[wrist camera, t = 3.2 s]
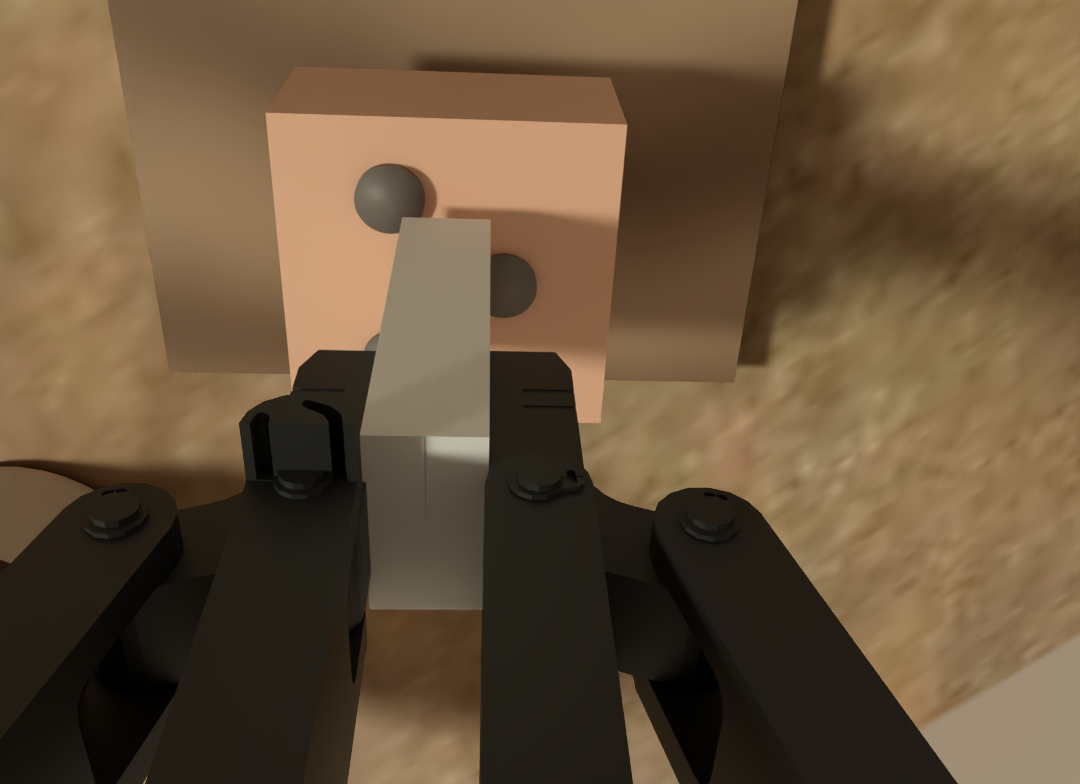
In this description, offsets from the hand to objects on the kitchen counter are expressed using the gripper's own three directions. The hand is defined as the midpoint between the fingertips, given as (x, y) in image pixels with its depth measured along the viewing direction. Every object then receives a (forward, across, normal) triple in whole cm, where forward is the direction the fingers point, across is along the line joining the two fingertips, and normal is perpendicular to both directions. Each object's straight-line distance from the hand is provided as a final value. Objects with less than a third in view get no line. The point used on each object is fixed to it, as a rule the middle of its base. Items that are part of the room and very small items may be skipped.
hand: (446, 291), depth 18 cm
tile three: (+4, 0, 0) cm, 4 cm away
